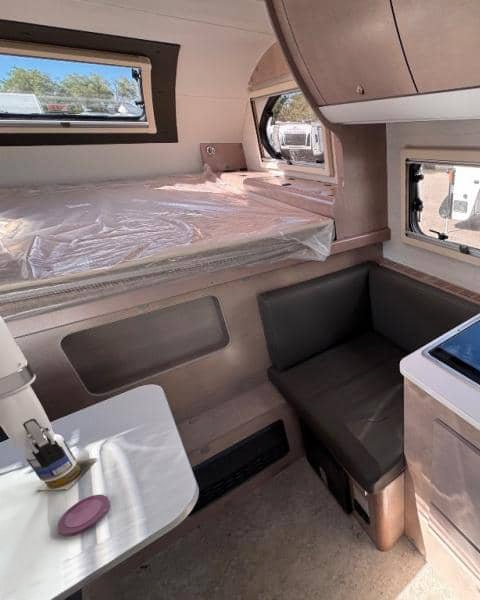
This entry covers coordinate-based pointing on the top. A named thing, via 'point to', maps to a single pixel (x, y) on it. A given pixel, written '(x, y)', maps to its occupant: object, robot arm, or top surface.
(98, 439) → the top surface
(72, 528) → the saucer
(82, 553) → the top surface
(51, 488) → the condiment
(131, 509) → the top surface
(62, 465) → the pill bottle
